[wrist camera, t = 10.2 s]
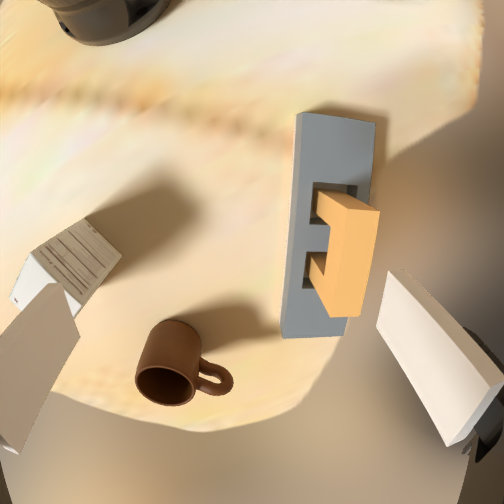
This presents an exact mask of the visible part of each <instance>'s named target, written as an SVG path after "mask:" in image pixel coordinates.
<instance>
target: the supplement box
mask: <svg viewBox="0 0 504 504" xmlns="http://www.w3.org/2000/svg"><path fill="white" fill-rule="evenodd" d="M121 257H122V255H121V254H120V253H119V252H118V251H117V250H116V249H115V248H114V247H113V246H112V245H111V244H110V243H109V242H108V241H107V240H106V239H105V238H104V237H103V236H102V235H101V234H100V233H99V232H98V231H97V230H96V229H95V228H94V227H93V226H92V225H91V224H90V223H89V222H88V221H87V220H86V219H84V218H83V219H81V220H80V221H78V222H76V223H75V224H73V225H72V226H70V227H68V228H67V229H65V230H64V231H62V232H60V233H59V234H57V235H56V236H54V237H52V238H51V239H49V240H48V241H46V242H45V243H43V244H42V245H40V246H39V247H37V248H36V249H35V250H33V251H32V252H30V253H29V255H28V257H27V259H26V261H25V263H24V265H23V267H22V269H21V272H20V274H19V276H18V277H17V280H16V282H15V285H14V287H13V289H12V292H11V294H10V296H9V298H10V300H11V301H12V302H13V303H14V304H15V305H16V306H17V308H18V309H19V310H20V311H22V310H23V309H24V308H25V307H26V306H27V305H28V304H29V303H30V301H31V300H32V299H33V298H34V297H35V296H36V295H37V294H38V293H39V292H40V291H41V290H42V289H43V288H44V287H45V286H46V285H47V284H48V283H62V285H63V289H64V292H65V295H66V298H67V301H68V304H69V307H70V310H71V313H72V316H73V319H75V317H76V316H77V315H78V313H79V312H80V311H81V309H82V308H83V307H84V305H85V304H86V303H87V301H88V300H89V299H90V297H91V296H92V295H93V294H94V292H95V291H96V290H97V288H98V287H99V286H100V284H101V283H102V282H103V280H104V279H105V278H106V277H107V275H108V274H109V273H110V271H111V270H112V269H113V267H114V266H115V265H116V264H117V262H118V261H119V260H120V259H121Z"/></svg>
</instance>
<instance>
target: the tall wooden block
mask: <svg viewBox="0 0 504 504" xmlns="http://www.w3.org/2000/svg"><path fill="white" fill-rule="evenodd" d="M312 210H313V211H314V212H315V213H316V214H317V215H318V216H319V217H321V218H322V219H323V220H324V221H325V222H326V223H327V224H328V225H329V226H330V227H331V229H330V237H329V245H328V252H307V260H306V269H305V271H306V273H307V274H308V276H309V278H310V280H311V282H312V284H313V286H314V288H315V289H316V291H317V293H318V295H319V297H320V299H321V301H322V303H323V305H324V307H325V309H326V310H327V312H328V314H329V316H330V318H331V317H352V316H360V312H361V308H362V304H363V300H364V295H365V291H366V287H367V282H368V277H369V272H370V268H371V262H372V257H373V252H374V246H375V241H376V235H377V229H378V222H379V216H380V211H379V210H377V209H375V208H373V207H371V206H369V205H367V204H365V203H363V202H362V201H360V200H358V199H356V198H354V197H352V196H350V195H348V194H346V193H344V192H342V191H340V190H333V189H320V188H314V192H313V203H312Z"/></svg>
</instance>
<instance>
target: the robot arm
mask: <svg viewBox="0 0 504 504" xmlns="http://www.w3.org/2000/svg"><path fill="white" fill-rule="evenodd" d="M38 1H40V2H41V3H43V4H45V5H47V6H49V7H50V8H52V9H53V11H54V13H55V16H56V18H57V20H58V22H59V24H60V26H61V28H62V29H63V31H64V32H65V33H66V34H67V35H68V36H69V37H71V38H73V39H74V40H76V41H78V42H80V43H82V44H85V45H89V46H105V45H110V44H114V43H118V42H121V41H123V40H126V39H128V38H130V37H132V36H134V35H136V34H137V33H139V32H141V31H142V30H144V29H145V28H147V27H148V26H149V25H150V24H152V23H153V22H154V21H155V20H156V19H157V18H158V17H159V16H160V15H161V14H162V13H163V12H164V10H165V9H166V8H167V6H168V5H169V3H170V1H171V0H38ZM376 328H377V329H378V331H379V332H380V334H381V335H382V337H383V339H384V340H385V342H386V343H387V345H388V346H389V348H390V350H391V351H392V352H393V354H394V356H395V358H396V359H397V361H398V362H399V364H400V366H401V367H402V369H403V371H404V372H405V374H406V375H407V377H408V379H409V380H410V382H411V384H412V385H413V387H414V389H415V391H416V392H417V394H418V395H419V397H420V399H421V401H422V403H423V404H424V406H425V408H426V409H427V411H428V413H429V415H430V416H431V418H432V420H433V422H434V424H435V425H436V427H437V429H438V431H439V433H440V434H441V436H442V438H443V440H444V442H445V444H446V446H447V447H448V446H450V445H452V444H455V443H457V442H459V441H461V440H463V439H464V438H465V437H466V436H467V435H468V434H469V432H470V431H471V430H472V429H473V427H474V429H475V430H476V432H477V434H476V435H475V436H474V437H473V439H472V440H471V441H470V442H469V443H468V444H467V445H466V446H465V448H464V449H463V452H462V454H465V453H466V451H467V450H468V449H469V448H470V447H471V446H472V447H471V451H470V452H469V454H468V455H470V457H469V461H468V466H467V471H466V475H465V479H464V482H463V486H462V490H461V493H460V496H459V500H458V503H457V504H504V365H503V364H502V363H501V362H500V360H499V359H498V358H497V357H496V356H495V355H494V353H493V352H490V349H489V348H488V347H487V346H486V345H484V343H483V341H482V340H481V339H480V338H479V337H478V336H477V335H476V334H475V333H473V332H472V331H470V330H469V329H467V328H465V327H461V326H460V325H459V324H458V323H457V321H456V320H455V319H454V318H453V317H452V316H451V315H450V314H449V313H448V312H447V311H446V310H445V309H444V308H443V307H442V306H441V305H440V304H439V303H438V302H437V301H436V300H435V299H434V298H433V297H432V296H431V295H430V294H429V293H428V292H427V291H426V290H425V289H424V288H423V287H422V286H421V285H420V284H419V283H418V282H417V281H415V279H413V278H412V277H411V276H410V275H409V274H408V273H407V272H406V271H405V270H404V269H402V270H390V271H388V275H387V280H386V285H385V290H384V294H383V300H382V304H381V308H380V313H379V317H378V321H377V325H376ZM79 338H80V335H79V332H78V330H77V327H76V324H75V322H74V319H73V316H72V313H71V310H70V307H69V304H68V301H67V298H66V295H65V292H64V289H63V285H62V283H48V284H47V285H46V286H45V287H44V288H43V289H42V290H41V291H40V292H39V293H38V294H37V295H36V296H35V297H34V298H33V299H32V300H31V301H30V303H29V304H28V305H27V306H26V307H25V308H24V309H23V310H22V311H21V312H20V314H19V315H18V316H17V317H16V318H15V319H14V320H13V322H12V323H11V324H10V325H9V326H8V327H7V329H6V330H5V331H4V332H3V333H2V334H1V336H0V444H1V445H2V446H3V447H4V448H5V449H7V450H9V451H12V452H14V453H16V454H18V455H20V454H21V451H22V449H23V447H24V444H25V442H26V440H27V438H28V435H29V433H30V431H31V429H32V426H33V424H34V422H35V420H36V418H37V416H38V414H39V412H40V410H41V408H42V406H43V404H44V402H45V400H46V398H47V396H48V394H49V392H50V390H51V388H52V386H53V384H54V383H55V381H56V379H57V377H58V375H59V373H60V371H61V370H62V368H63V366H64V364H65V362H66V361H67V359H68V357H69V355H70V354H71V352H72V350H73V349H74V347H75V345H76V343H77V342H78V340H79ZM0 504H12V501H11V498H10V495H9V492H8V488H7V485H6V482H5V478H4V475H3V471H2V466H1V462H0Z"/></svg>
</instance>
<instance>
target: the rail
mask: <svg viewBox="0 0 504 504" xmlns="http://www.w3.org/2000/svg"><path fill="white" fill-rule="evenodd" d="M374 140H375V123H373V122H367V121H362V120H356V119H350V118H344V117H337V116H330V115H323V114H315V113H306V112H302V113H299V114H297V115H295V117H294V137H293V154H292V170H291V185H290V199H289V212H288V225H287V237H286V249H285V260H284V271H283V282H282V292H281V302H280V312H279V325H280V329H281V333H282V337H283V339H285V338H313V337H332V336H343V335H344V331H345V327H346V323H347V318H348V317H331V318H330V316H329V314H328V312H327V310H326V309H325V307H324V305H323V303H322V301H321V299H320V297H319V295H318V293H317V291H316V289H315V288H314V286H313V284H312V282H311V280H310V278H309V276H308V274H307V273H306V271H305V269H306V260H307V252H328V245H329V237H330V229H331V227H330V226H329V225H328V224H327V223H326V222H325V221H324V220H323V219H322V218H321V217H319V216H318V215H317V214H316V213H315V212H314V211H313V210H312V203H313V192H314V188H320V189H333V190H340V191H342V192H344V193H346V194H348V195H350V196H352V197H354V198H356V199H358V200H360V201H362V202H363V203H365V204H367V205H368V201H369V193H370V185H371V175H372V165H373V153H374Z"/></svg>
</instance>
